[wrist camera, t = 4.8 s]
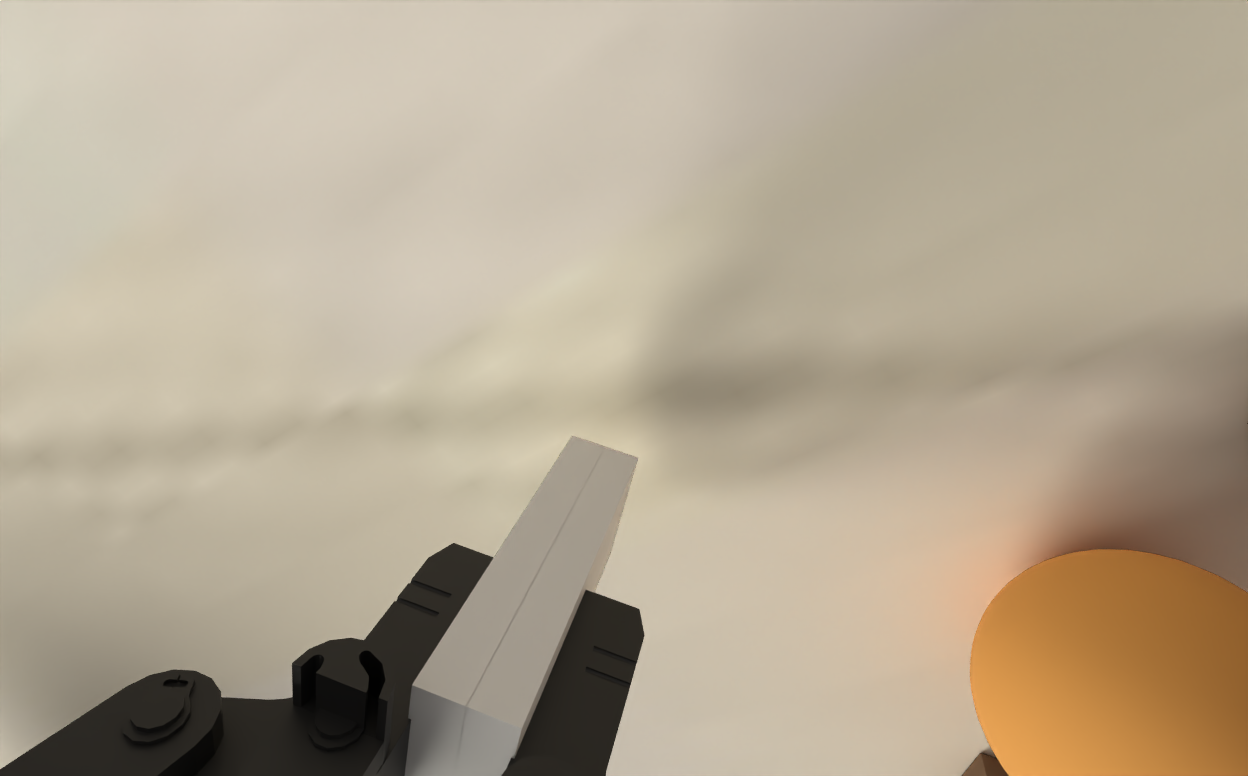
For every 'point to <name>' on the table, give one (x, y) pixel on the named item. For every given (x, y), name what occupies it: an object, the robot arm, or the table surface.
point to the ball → (1114, 669)
